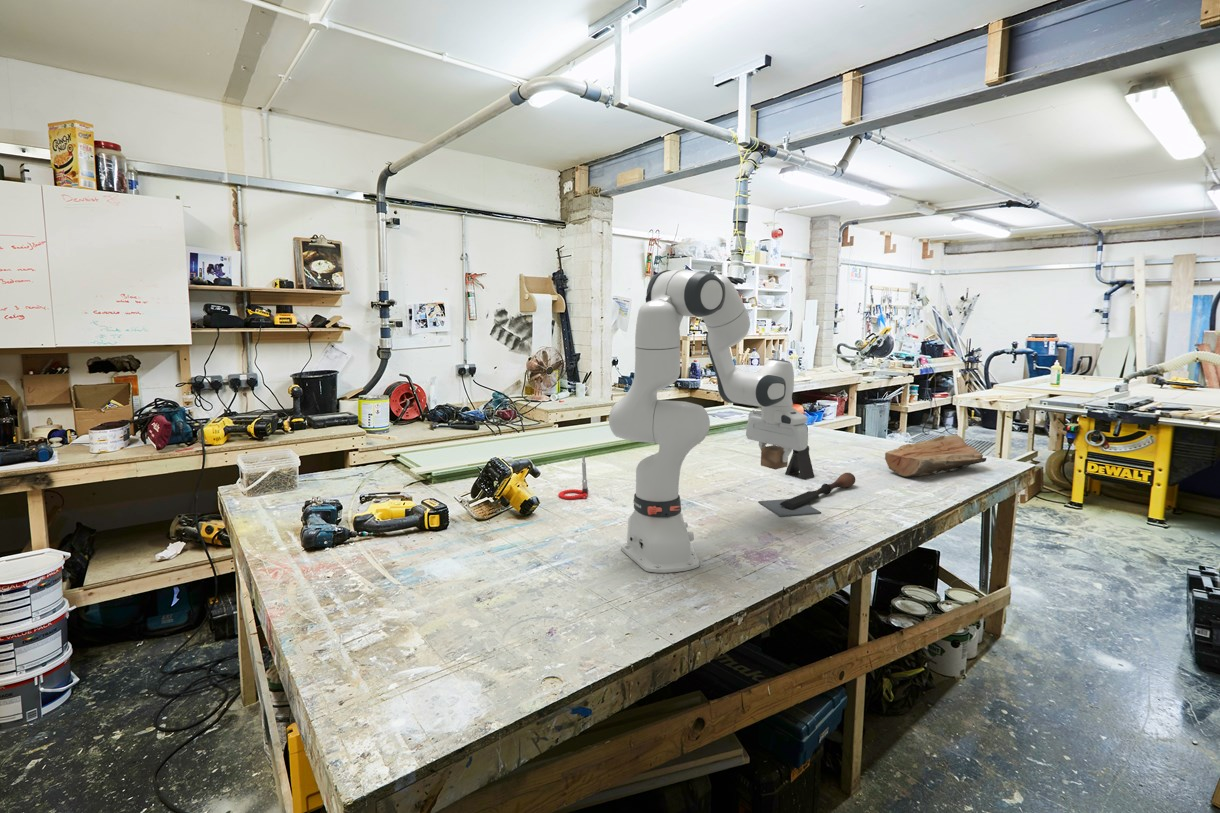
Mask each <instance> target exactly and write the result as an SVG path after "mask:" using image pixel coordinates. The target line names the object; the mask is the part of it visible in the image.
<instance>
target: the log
mask: <svg viewBox="0 0 1220 813" xmlns="http://www.w3.org/2000/svg"><path fill="white" fill-rule="evenodd" d="M983 456H984V454H982V453H980V452H979V451H978V450H977V449H976V448H974V447H973V446H970V445H968V444H967V443H966V442H965V441H964V439H963V437H961V436H960V435H958V434H951V435H942V436H938V437H936V438H932V439H928V440H922V441H917V442H916V443H907V444H903V445H901V446H899V447H898V448H896V449H892V450H889V451H888V450H887V451H886V452H885V453H884V459H885V462H886V464H887V467H888V469H889V470H891V471H893V472H895V473H896V474H898V476H899V475H900V476H902V477H904V478H910V477H911V478H913V477H914V478H915V477H922V476H924V475H925V476H926V475H927V476H928V475H937V474H941V473H951V472H952V471H957V470H959V469H962V468H966V467H969V466H971V465H976V464H980V463H984V462H986V461H987V457H983Z"/></svg>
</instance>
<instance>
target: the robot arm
mask: <svg viewBox="0 0 1220 813" xmlns="http://www.w3.org/2000/svg"><path fill="white" fill-rule="evenodd" d="M646 288H647V289H646V296H645V303H643V304H641V306H640V307H639V309H638V311H637V317H636V325H635V326H636V327H635V333H634V334H635V337H634V338H635V339H634V340H635V341H634V343H635V344H634V345H635V346H634V347H635V348H634V349H635V350H634V352H635V353H634V355H635V357H634V359H635V360H634V376H633V380H632V383H631V385H630V388H629V389H628V391H627V392H626V393H625V394H624V396H623V397H621V399H619V400H618V401H616V403H614V405H613V406H612V408H611V409H610V412H609V414H608V424H609V429H610V430H611V432H612V434H613V435H614V436H615V437H617V438H619V439H622V440H626V441H630V442H639V443H640V442H641V443H650V444H658V445H659V448H658V452H657V453H654V454H651V455H649V456H647V457H644V458H643V459H641V460H640V461H639V462H638V463H637V466H636V469H635V493H634V495H633V509H634V510H633V512H632V514H631V515H630V516H629V517H628V520H627V531H626V532H627V533H626V542H625V543H622V544H621V546H620V550H621V551H622V553H624V554H625V555H626V556H628V557H629V558H630V559H631V560H632V561H633V562H635V564H637V565H638V566H639V567H640V568H642V569H643V570H644V571H646V572H648V573H657V574H658V573H659V574H661V573H664V574H665V573H666V574H667V573H677V572H684V571H685V572H686V571H691V570H693V569H694V570H695V569H697V568H698V567H700V560H699V558H698V556H697V553H696V551H695V549H694V547H693V544H692V542H693V541H694V539H695V536H694V535H695V534H694V532H693V531H688V529H687V528H688V526H689V523H688V521H685V519H684V517H683V513H682V501H681V496H680V494H679V490H680V488H679V487H680V486H679V485H680V476H681V468H682V465H683V462H684V460H685V458H686V456H687V455H688V454H689V452H690V451H691V450H692V449H694V448H695V447H696V446H697V445H700V444H701V443H702V442H703V441H704V440H705V439H706V437H707V436H708V434H709V432H710V427H711V421H710V417H709V414H708V411H707V410H706V409H705V407H704V406H702V405H700V404H697V403H693V402H689V401H683V400H682V401H681V400H680V401H679V400H662V399H658V392H659V391H661V390H664V389H665V388H667V387H669V386H671V385H673V384H674V383H675V382H677V380H678V379H679V377H680V375H681V331H680V326H681V322H682V320H683V319H684V318H683V317H698V318H702V320H703V322H704V324H705V327H706V329H707V333H706V334H705V343H706V349H707V352H708V355H709V358H710V361H711V365H712V367H713V370H714V373H715V377H716V382H717V390H718V393H719V396H720V398H721V399H722V401H724V402H725V403H728V404H740V405H741V404H742V405H747V406H754V407H761V409H760V410H758V409H752V410H751V411H750V412H748V420H747V423H746V429H745V437H746V438H747V439H748V440H751V441H755V442H758V447H759V450H761V448H762V447H767V446H766V445H767V444H768V445H770V446H772V445H775V446H779V447H783V448H784V449H783V451H785V453H784V454H783V455H782V456H780V461H781V462H787V461H788V460H789V456H790V454H791V453H792V452H793V450H796V451H801V450H805V449H806V447H807V446H809V445H808V444H809V432H808V431H809V430H808V426H807V425H806V423H807V422H808V416H807V415H806V414H804V413H802V412H800V411H799V410H797V409H796V408H794V407H793V405H794V404H793V403H794V402H793V399H792V398H793V393H794V390H795V375H794V374H795V373H794V371H795V370H794V366H793V364H792V362H790V361H789V360H785V359H778V358H777V359H776V358H769V359H766V361H765V363H764V366H763V367H761V369H759V370H757V371H749V370H748V371H747V370H742V369H740V368H738V367H737V366H736V365H735V363H734V359H733V357H732V353H731V350H730V348H732V347H734V346H735V345H738V344H739V343H740V342H741V341H742V340H743V339H744V338H745V337H746V335H748V333H749V331H750V330H749V329H751V328H750V326H751V320H750V315H749V313H748V311H747V308H746V306H745V304H744V301H743V299H742V297H741V295H740V294H739V292H738V290H737V288H736V287H735V286H734V284H733V282H732V281H731V280H730V278H728V276H726V275H724V274H719V273H712V272H709V271H704V270H700V271H699V270H698V271H697V270H689V269H685V268H683V269H673V270H670V269H667V270H662V271H660V272H657V273H655V274H654V275H653V276H651V278H650V280H649V282H648V285H647V287H646ZM788 462H789V461H788Z"/></svg>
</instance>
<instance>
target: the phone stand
mask: <svg viewBox="0 0 1220 813" xmlns="http://www.w3.org/2000/svg"><path fill="white" fill-rule="evenodd" d="M788 462H789V463H788V464H787V467H786V469H785V473H784V475H785V476H789V477H792V478H796V479H799V480H803V481H804V480H809V479H812V478H815V473H814V470H813V464H812V461H811V456H810V446H809V445H808V446H807V447H806V449H805V450H801V451H796V450H792V454H791V457H790V459H789V461H788Z"/></svg>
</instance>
